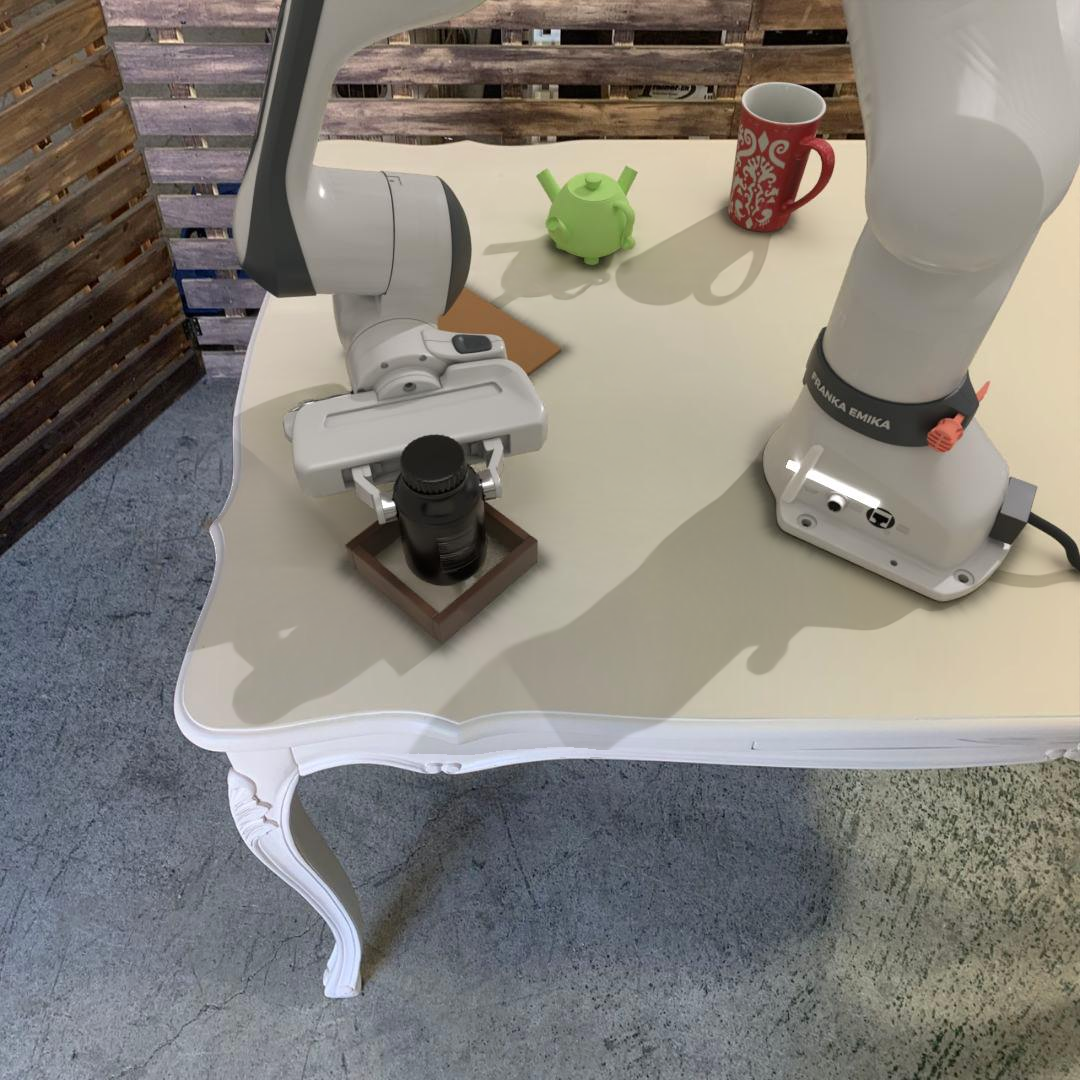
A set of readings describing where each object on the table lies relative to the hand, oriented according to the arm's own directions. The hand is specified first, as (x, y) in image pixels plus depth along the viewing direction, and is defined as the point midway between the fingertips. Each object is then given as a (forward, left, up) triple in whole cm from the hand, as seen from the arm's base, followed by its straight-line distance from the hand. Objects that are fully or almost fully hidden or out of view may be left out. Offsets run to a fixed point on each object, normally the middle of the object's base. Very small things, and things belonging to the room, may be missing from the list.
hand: (441, 505), depth 68 cm
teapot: (+22, -42, -9) cm, 49 cm away
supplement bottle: (+1, 0, -8) cm, 8 cm away
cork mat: (+19, -19, -9) cm, 29 cm away
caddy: (+1, 0, -9) cm, 9 cm away
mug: (+9, -60, -9) cm, 62 cm away
